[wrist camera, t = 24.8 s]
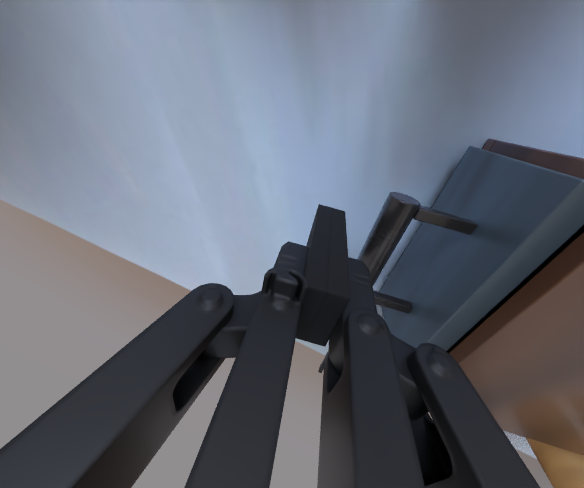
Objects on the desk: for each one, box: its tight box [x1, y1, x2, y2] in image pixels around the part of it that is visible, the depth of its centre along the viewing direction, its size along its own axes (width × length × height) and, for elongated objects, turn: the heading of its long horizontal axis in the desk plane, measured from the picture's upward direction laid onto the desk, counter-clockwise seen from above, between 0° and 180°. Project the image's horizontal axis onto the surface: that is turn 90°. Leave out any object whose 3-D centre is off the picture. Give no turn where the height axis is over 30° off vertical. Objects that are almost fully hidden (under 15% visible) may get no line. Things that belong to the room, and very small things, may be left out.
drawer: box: [357, 146, 584, 353], centre depth 13 cm, size 20×12×7 cm, turn 77°
